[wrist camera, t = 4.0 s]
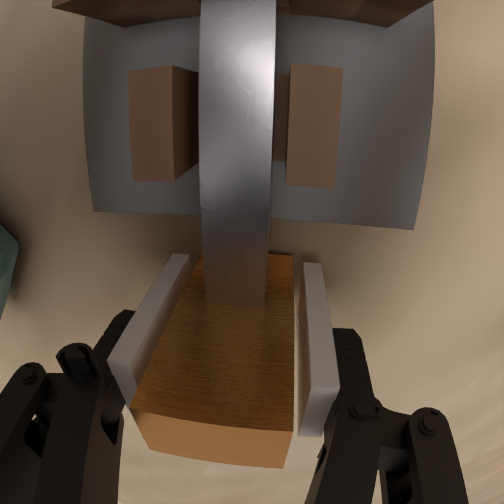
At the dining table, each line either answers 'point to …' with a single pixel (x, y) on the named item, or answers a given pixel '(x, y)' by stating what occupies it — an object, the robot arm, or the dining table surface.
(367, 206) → the dock
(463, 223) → the dining table surface
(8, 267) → the flower pot
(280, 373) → the lock pin
